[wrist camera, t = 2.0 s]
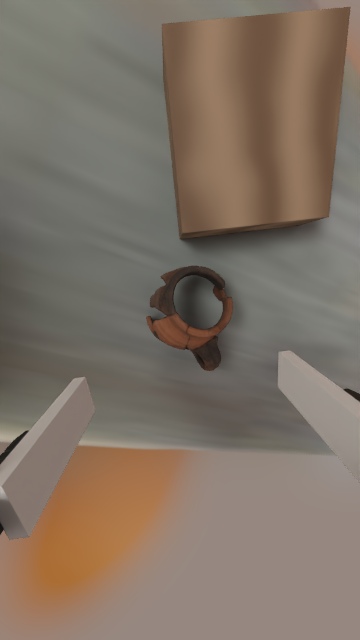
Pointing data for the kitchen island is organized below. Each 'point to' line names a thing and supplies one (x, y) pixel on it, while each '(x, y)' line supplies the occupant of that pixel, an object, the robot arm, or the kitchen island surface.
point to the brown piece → (180, 332)
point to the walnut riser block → (253, 118)
